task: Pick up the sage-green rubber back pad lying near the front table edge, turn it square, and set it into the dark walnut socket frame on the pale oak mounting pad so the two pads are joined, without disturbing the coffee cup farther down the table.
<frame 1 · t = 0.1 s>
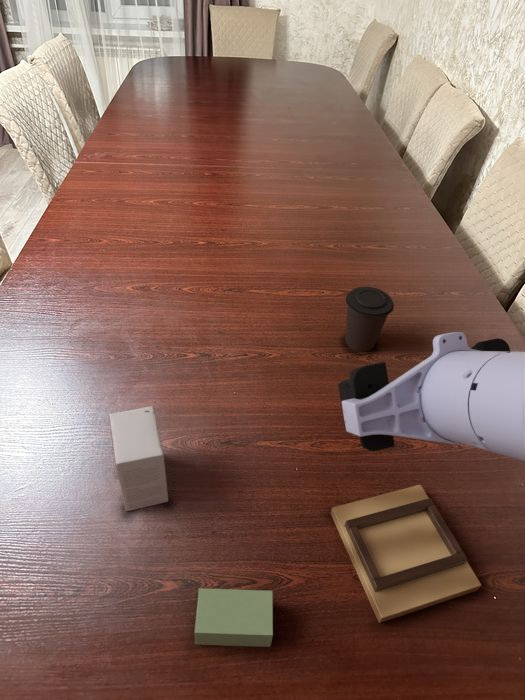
hand: (387, 385, 42), 31 cm above the table, tool tilted 50°, fingers open, 7 cm apart
back pad: (234, 623, 57), on the table
coffee cup: (359, 342, 93), on the table
mounting pad: (400, 550, 65), on the table
small box: (143, 482, 70), on the table
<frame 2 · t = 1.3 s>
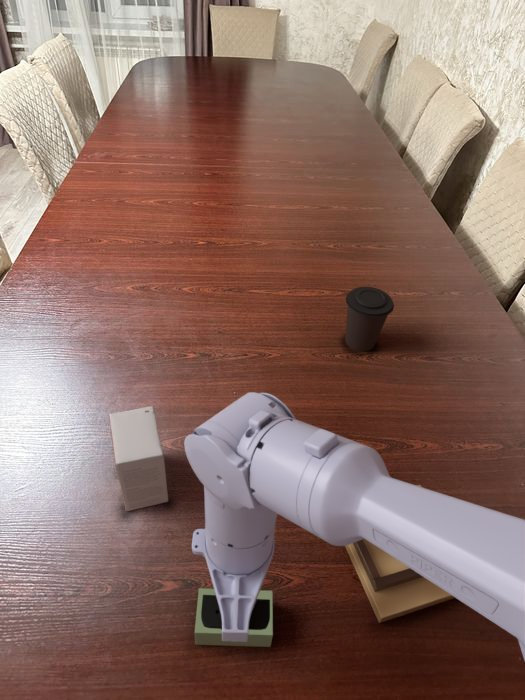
hand: (236, 587, 51), 9 cm above the table, tool pointing down, fingers open, 7 cm apart
nothing on the table moved.
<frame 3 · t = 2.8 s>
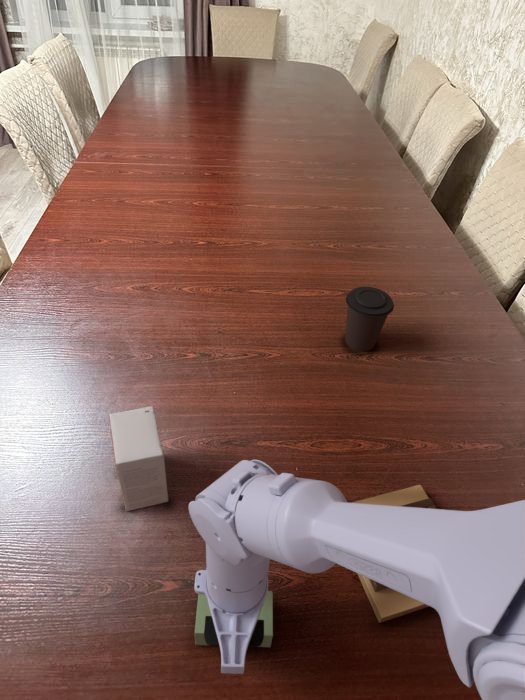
hand: (234, 618, 56), 1 cm above the table, tool pointing down, fingers closed on back pad, 4 cm apart
back pad: (234, 623, 57), on the table, touching gripper
everything else where it was.
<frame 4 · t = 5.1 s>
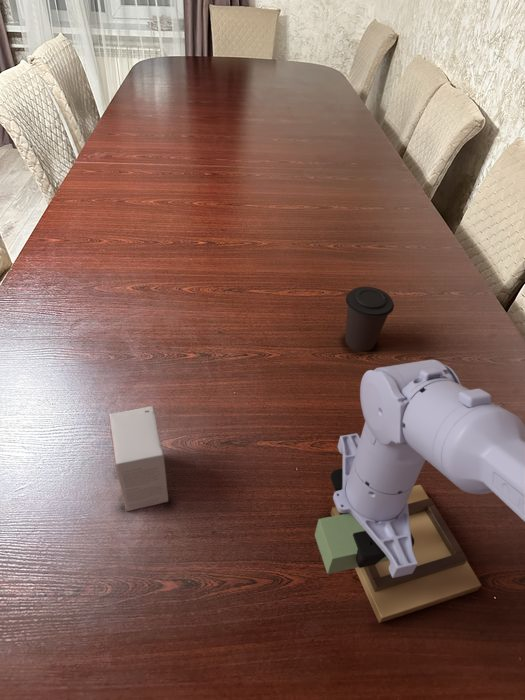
hand: (357, 540, 56), 8 cm above the table, tool pointing down, fingers closed on back pad, 4 cm apart
back pad: (355, 546, 57), point 7 cm above the table, touching gripper
everything else where it was.
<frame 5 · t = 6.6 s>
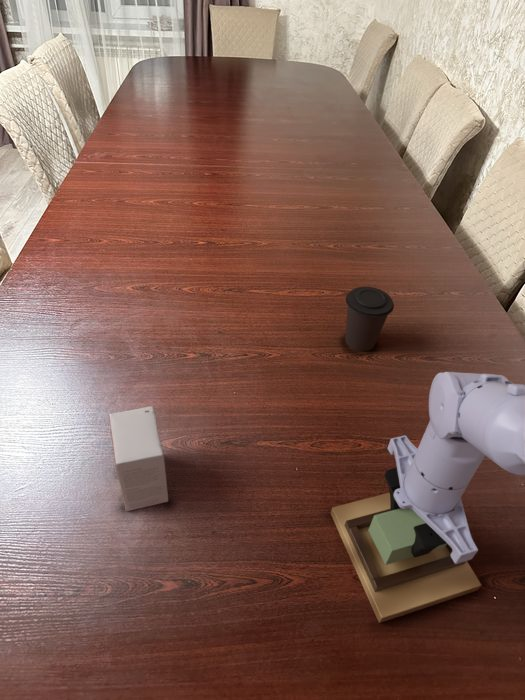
hand: (409, 532, 62), 4 cm above the table, tool pointing down, fingers closed on back pad, 4 cm apart
back pad: (406, 538, 62), point 3 cm above the table, touching gripper
everything else where it was.
when the fingers open (3 cm above the table, at t = 7.6 s): back pad stays where it is, resting on mounting pad.
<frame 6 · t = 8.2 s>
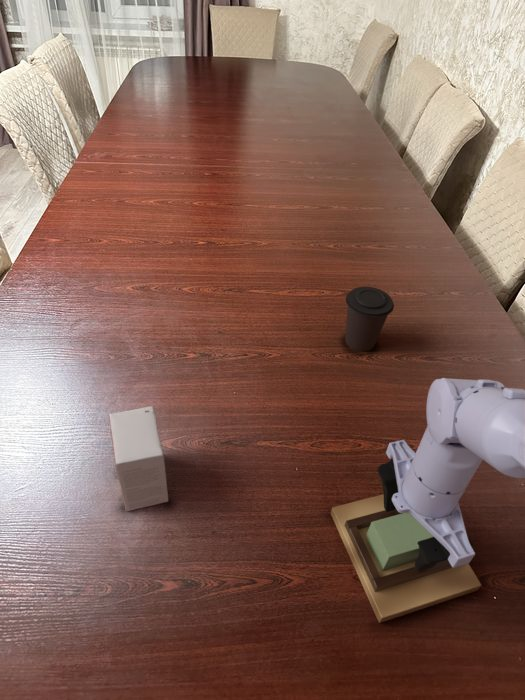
hand: (407, 535, 62), 4 cm above the table, tool pointing down, fingers open, 7 cm apart
back pad: (403, 544, 64), point 1 cm above the table, touching mounting pad
everything else where it was.
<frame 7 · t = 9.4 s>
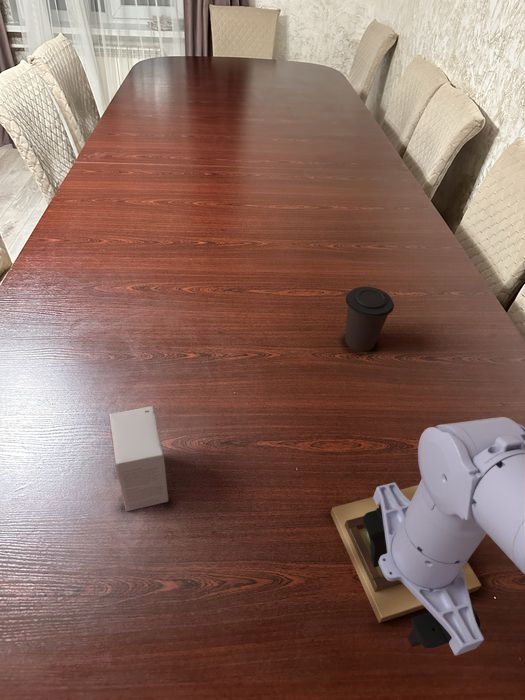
hand: (399, 599, 51), 9 cm above the table, tool pointing down, fingers open, 7 cm apart
nothing on the table moved.
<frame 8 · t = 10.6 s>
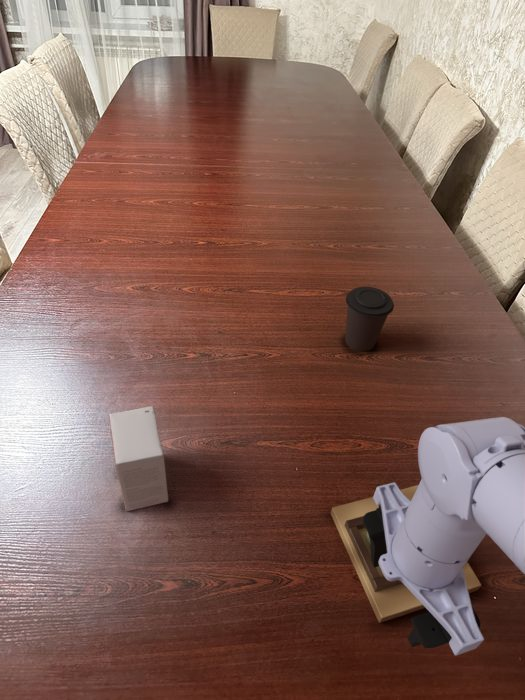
hand: (399, 599, 51), 9 cm above the table, tool pointing down, fingers open, 7 cm apart
nothing on the table moved.
at the end: back pad 0.0 cm off-centre on the mounting pad, point 1.5 cm above the mounting pad's base; back pad tilted 0°; coffee cup moved 0.2 cm from its start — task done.
